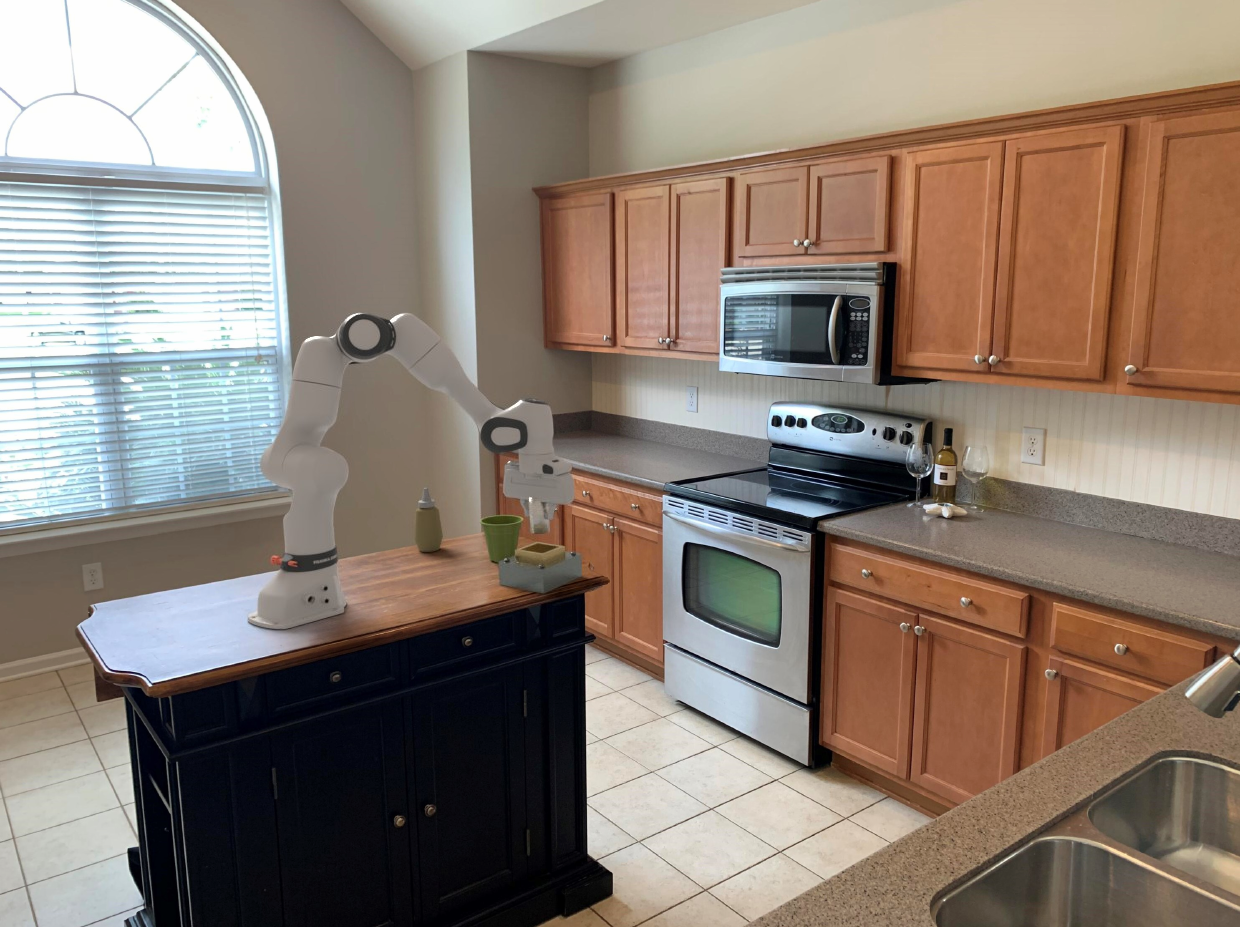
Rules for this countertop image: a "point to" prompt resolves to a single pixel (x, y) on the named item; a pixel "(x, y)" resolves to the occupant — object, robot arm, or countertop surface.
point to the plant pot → (501, 535)
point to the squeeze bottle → (427, 524)
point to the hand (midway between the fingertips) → (539, 517)
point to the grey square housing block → (540, 567)
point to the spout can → (538, 516)
